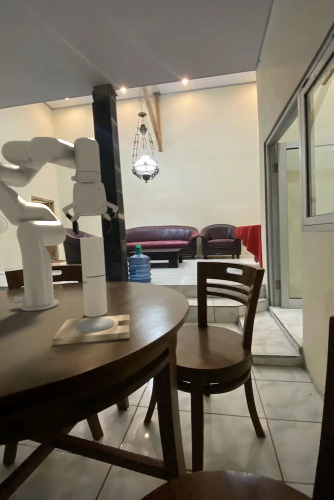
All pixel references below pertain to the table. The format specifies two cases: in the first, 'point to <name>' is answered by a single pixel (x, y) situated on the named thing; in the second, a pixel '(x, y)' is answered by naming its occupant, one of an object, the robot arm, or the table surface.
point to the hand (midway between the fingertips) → (92, 233)
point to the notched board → (93, 329)
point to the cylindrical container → (93, 276)
